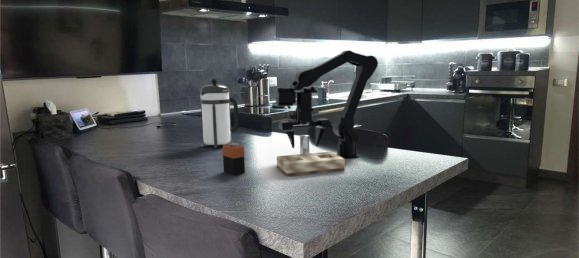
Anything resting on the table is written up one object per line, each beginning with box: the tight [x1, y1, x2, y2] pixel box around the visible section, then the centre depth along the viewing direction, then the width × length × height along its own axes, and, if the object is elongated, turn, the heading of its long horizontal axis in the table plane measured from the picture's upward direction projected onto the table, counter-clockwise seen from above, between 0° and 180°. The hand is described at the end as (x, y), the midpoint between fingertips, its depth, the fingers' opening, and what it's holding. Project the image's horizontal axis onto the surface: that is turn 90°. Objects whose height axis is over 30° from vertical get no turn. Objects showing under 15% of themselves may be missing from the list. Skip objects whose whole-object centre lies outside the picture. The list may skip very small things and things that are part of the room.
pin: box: [299, 134, 310, 154], centre depth 148 cm, size 4×4×9 cm
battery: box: [222, 141, 246, 176], centre depth 131 cm, size 4×7×10 cm, turn 42°
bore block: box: [276, 151, 346, 177], centre depth 134 cm, size 20×12×4 cm, turn 107°
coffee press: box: [199, 78, 240, 150], centre depth 176 cm, size 17×16×30 cm
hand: (305, 147), depth 148 cm, fingers open, 9 cm apart
